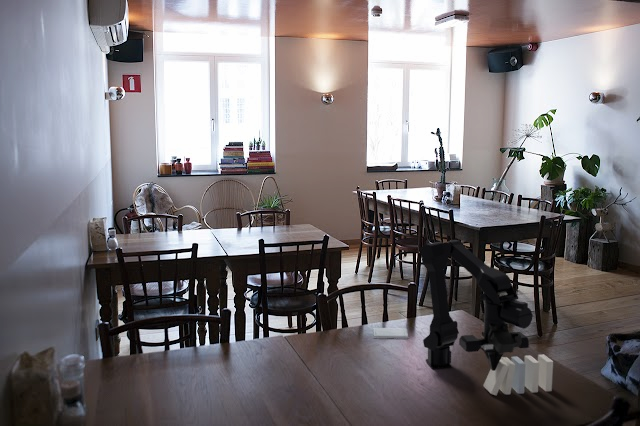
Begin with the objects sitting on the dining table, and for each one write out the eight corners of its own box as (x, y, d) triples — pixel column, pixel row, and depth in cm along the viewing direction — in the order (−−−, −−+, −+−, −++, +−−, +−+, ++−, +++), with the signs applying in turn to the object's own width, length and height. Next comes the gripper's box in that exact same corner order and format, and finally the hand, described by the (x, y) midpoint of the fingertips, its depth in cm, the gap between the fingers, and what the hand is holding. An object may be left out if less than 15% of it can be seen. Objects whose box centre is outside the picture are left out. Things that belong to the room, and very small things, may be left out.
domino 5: (545, 391, 160) (547, 361, 158) (536, 383, 165) (538, 354, 163) (551, 390, 160) (553, 361, 159) (542, 383, 165) (543, 354, 163)
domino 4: (532, 392, 159) (533, 362, 158) (523, 384, 164) (524, 355, 163) (537, 392, 159) (539, 362, 158) (529, 384, 164) (530, 355, 163)
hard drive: (373, 335, 201) (408, 335, 200) (373, 327, 209) (406, 327, 208) (373, 339, 201) (408, 340, 200) (373, 331, 209) (406, 331, 208)
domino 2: (504, 394, 158) (509, 364, 157) (496, 386, 163) (501, 357, 162) (510, 394, 158) (515, 364, 157) (502, 386, 163) (507, 357, 162)
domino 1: (490, 393, 157) (503, 365, 156) (483, 385, 162) (495, 357, 161) (496, 395, 158) (509, 367, 157) (488, 387, 163) (500, 359, 162)
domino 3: (518, 393, 159) (519, 363, 157) (510, 385, 163) (511, 356, 162) (524, 393, 159) (525, 363, 157) (515, 385, 164) (517, 356, 162)
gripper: (475, 330, 147) (473, 385, 150) (541, 325, 150) (538, 380, 152) (459, 316, 158) (457, 367, 161) (520, 312, 161) (518, 363, 163)
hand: (493, 370), depth 159 cm, fingers closed
